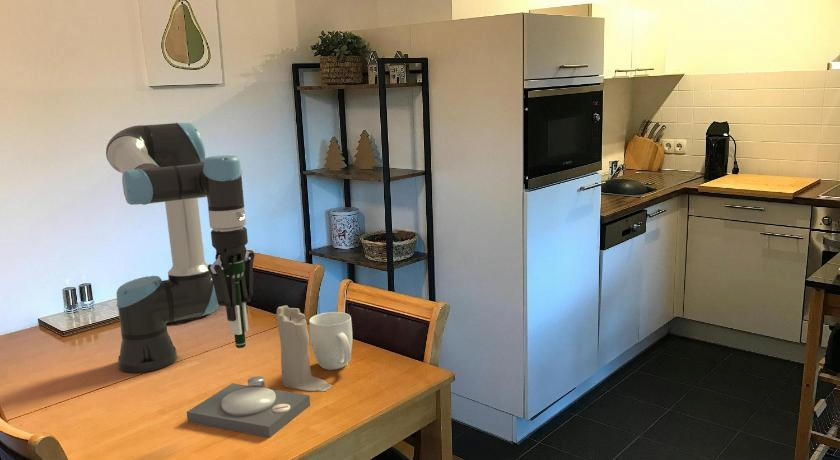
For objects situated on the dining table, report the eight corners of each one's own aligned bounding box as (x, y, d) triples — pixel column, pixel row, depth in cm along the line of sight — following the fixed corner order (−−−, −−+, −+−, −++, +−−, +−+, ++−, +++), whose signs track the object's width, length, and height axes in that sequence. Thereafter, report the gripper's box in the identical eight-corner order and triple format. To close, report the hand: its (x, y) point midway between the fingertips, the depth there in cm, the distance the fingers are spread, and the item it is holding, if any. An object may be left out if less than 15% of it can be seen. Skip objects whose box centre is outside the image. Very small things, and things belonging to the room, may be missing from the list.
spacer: (245, 390, 169) (244, 380, 168) (256, 384, 172) (255, 375, 172) (256, 393, 167) (256, 383, 166) (268, 387, 170) (267, 378, 170)
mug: (368, 370, 177) (365, 322, 174) (330, 382, 171) (326, 332, 169) (342, 354, 189) (339, 308, 187) (305, 364, 183) (302, 317, 181)
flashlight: (238, 341, 156) (229, 256, 152) (257, 343, 154) (248, 257, 150) (224, 349, 151) (214, 261, 147) (243, 351, 149) (233, 262, 145)
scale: (187, 422, 153) (185, 406, 152) (233, 392, 167) (231, 378, 167) (269, 437, 144) (268, 421, 144) (310, 405, 159) (309, 390, 158)
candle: (321, 394, 164) (314, 315, 160) (276, 385, 171) (269, 308, 167) (338, 383, 170) (333, 306, 166) (295, 374, 177) (288, 300, 173)
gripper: (219, 235, 139) (231, 345, 144) (263, 222, 152) (272, 323, 157) (191, 234, 142) (203, 341, 147) (236, 221, 155) (246, 320, 160)
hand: (239, 331), depth 152 cm, fingers closed on flashlight, 1 cm apart
